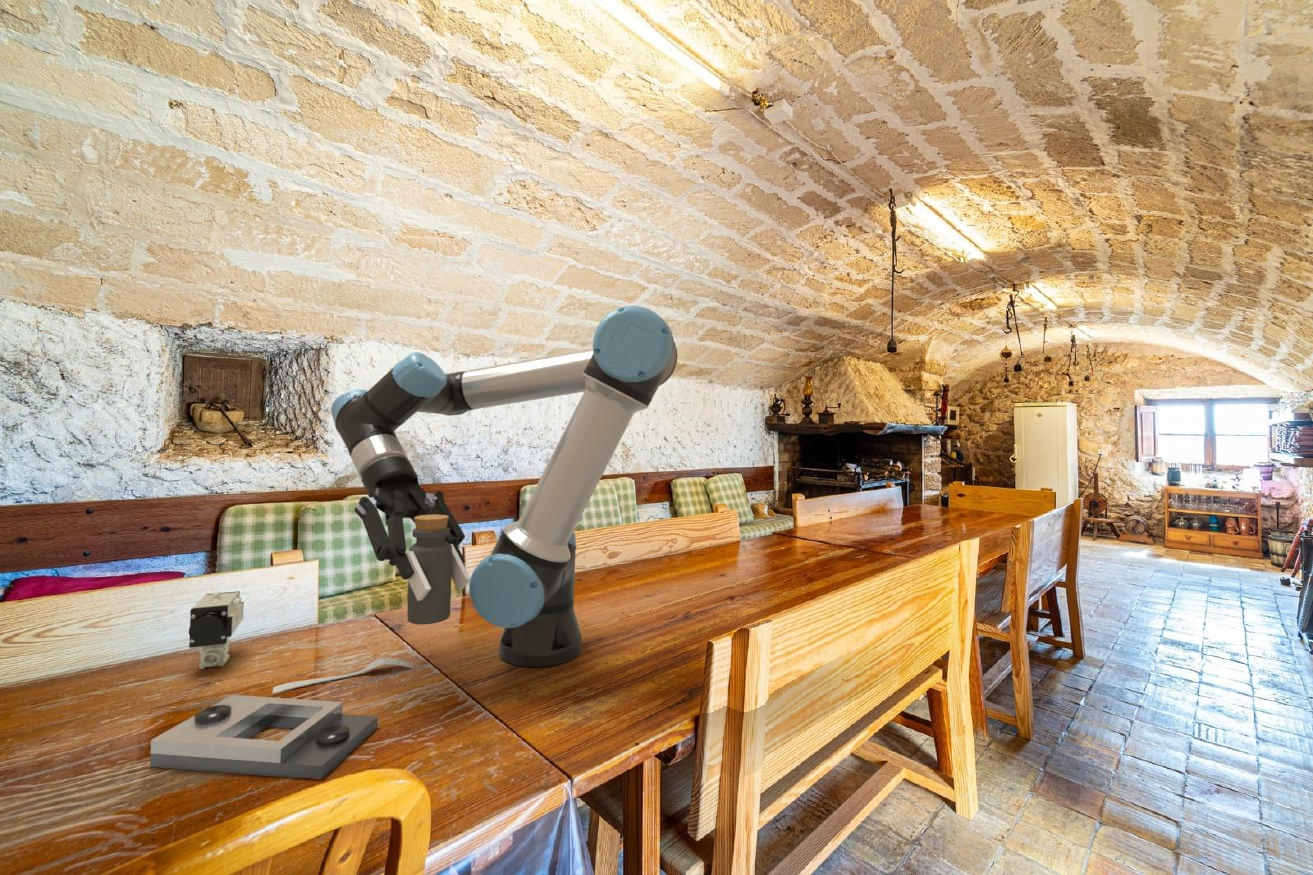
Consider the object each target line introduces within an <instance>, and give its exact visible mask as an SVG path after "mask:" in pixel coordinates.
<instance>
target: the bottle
mask: <svg viewBox="0 0 1313 875" xmlns="http://www.w3.org/2000/svg"><path fill="white" fill-rule="evenodd" d="M448 519H449V516H447V515H421V516H416V517H414V520H415V523H414V524H415V528H413V529H412V534H411V536H412V537H413V538H415V539H416V541H415V542H416V543H413V544H411V546H410V547H409V550H408V552H409V551H413V552H414V554H415V556H416V558H417V560H418V563H419V565H420V567H421V569H422V571H423V573H424V575H425V577H426V579H427V581H428V583H429V585H430V587H431V590H430V591H429V592H428V593H427V595H426V596H425V597H424V599H423V600H420V601H417V599H416V596H415V594H414V592H413V590H412V588H411V586H410V584H409V581H408V580H407V582H408V584H407V617H406V618H407V621H408V623H411V624H412V625H413V624H414V625H432V624H433V625H434V624H439V623H441V622H444V621H446V620H448V619H449V618H450V616H451V599H452V597H451V596H452V577H451V569H452V546H451V544H449V543H448V542H446V540H445V539H446V536H448V535H449V534H450V528H448V527H447V523H448Z"/></svg>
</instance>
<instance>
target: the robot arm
mask: <svg viewBox="0 0 1313 875" xmlns="http://www.w3.org/2000/svg"><path fill="white" fill-rule="evenodd" d="M593 334H594V335H593V340H592V348H589V349H582V350H576V351H571V352H565V353H560V354H555V355H548V356H543V357H537V358H532V359H525V360H521V361H520V360H519V361H513V362H507V363H502V364H495V365H491V366H486V367H479V368H475V369H474V368H473V369H468V370H464V371H456V372H452V373H451V372H450V373H445V372H444V370H443V369H442V368H441V366H440V364H438V363H437V362H436V361H434V360H433V359H432V358H431V357H429V356H427V354H424V353H423V352H417V351H416V352H415V351H414V352H411V353H409V354H408V355H407V356H406V357H404V358H403V359H402V360H400V361H398V362H397V363H396V364H395V365H394V366H393V367H392V369H390V370H389V371H388V372H387V373H386V374H384V376H383V377H382V378H381V379H379V380H378V381H377V382H376V383H375V384H374V385H373V386H372V387H371V388H370V389H369V390H366V389H352V390H349V391H348V392H347V393H342V394H340V395H339V396H338V397H336V398H335V399H334V401H333V402H332V403H331V404H332V405H331V408H330V412H331V417H332V419H333V422H334V427H335V429H336V432H338V434H339V436H340V437H341V439H342V441H343V443H344V445H345V447H346V449H347V451H348V454H349V457H350V458H351V461H352V463H353V464H354V468H355V470H356V471H357V474H358V476H359V478H361V483H362V485H363V487H364V489H365V491H366V493H367V496H368V497H369V498H368V497H367V496H362V497H360V499H359V501H358V502H357V503H356V505H355V507H354V509H353V510H354V512H355V513H356V515H358V517H359V518H360V519H361V520H362V522H363V526H364V529H365V531H366V533H367V536H368V539H369V542H370V544H371V546H372V549H373V552H374V554H375V558H376V559H377V561H378V562H384V561H386V560H388V564H389V566H392V567H396V569H397V571H398V573H399V575H400V577H401V579H403V580H404V581H405V580H407V582H408V581H409V584H410V586H411V588H412V590H413V592H414V594H415V596H416V599H417V601H420V600H423V599H424V597H425V596H426V595H427V593H428V592H429V591H430V590H431V587H430V585H429V583H428V581H427V579H426V577H425V575H424V573H423V571H422V569H421V567H420V565H419V563H418V560H417V558H416V556H415V554H414V552H413V551H409V550H408V551H407V545H406V535H405V528H404V525H405V524H404V518H405V519H407V518H408V519H410V520H411V521H412V522H413V523H414V524H415V520H414V517H416V516H421V515H447V516H449V519H448V523H447V527H448V528H450V534H449V535H448V536H446V539H445V540H446V542H448V543H449V544H451V546H452V569H451V580H453V583H454V585H455V587H456V589H457V591H461V590H463V589H464V588H465V587H466V586H467V584H468V583H469V585H468V592H469V597H470V599H471V603H472V604H473V608H474V610H475V611H476V613H477V614H478V615H479V616H480V617H481V618H482V619H483V620H484V621H486V622H487V623H489V624H491V625H493V626H494V627H498V628H503V630H502V633H501V636H500V638H499V647H498V651H499V652H498V655H499V657H500V658H501V659H502V660H503V661H505V662H506V663H509V664H511V665H516V666H519V667H525V668H526V667H527V668H528V667H529V668H541V667H543V668H544V667H551V666H556V665H557V666H558V665H560V664H561V665H562V664H564V663H567V662H569V661H571V660H573V659H575V658H577V657H578V656H579V655H581V654H580V653H581V652H582V649H583V648H582V643H583V640H582V639H583V637H582V636H583V635H582V634H581V630H580V627H579V626H580V625H579V622H578V620H577V616H576V612H575V608H574V604H575V603H574V602H575V578H576V577H575V576H576V575H575V574H576V553H577V552H576V550H577V543H576V542H577V541H576V540H577V539H576V534H575V529H576V527H577V525H578V523H579V521H580V519H581V517H582V515H583V514H584V512H585V510H586V508H587V506H588V504H589V503H590V502H589V501H590V500H591V498H592V496H593V494H594V492H595V490H596V488H597V486H598V484H599V483H600V480H601V478H602V476H603V474H604V472H605V470H606V468H607V467H608V465H609V463H610V461H611V459H612V457H613V456H614V453H615V451H616V449H617V447H618V446H619V444H620V442H621V439H622V437H623V436H624V433H625V431H626V430H627V428H628V426H629V424H630V422H631V421H632V418H633V416H634V414H635V413H637V412H641V411H643V410H645V409H646V410H647V409H648V408H649V406H650V405H651V402H652V400H653V399H654V396H655V395H656V392H657V391H658V389H659V387H660V386H662V385H663V384H665V383H666V382H667V381H668V380H669V379H671V377H672V375H673V373H674V372H675V369H676V367H677V362H678V349H677V346H676V342H675V341H674V336H673V332H672V330H671V328H670V326H669V324H668V323H667V322H666V321H665V320H664V318H662V316H661V315H659V314H657V313H656V312H655V311H653V310H652V309H650V308H647V307H643V306H639V305H626V306H621V307H619V308H616V309H614V310H612V311H610V312H609V313H608V314H607V315H605V316H604V318H602V319H601V321H600V322H599V323H598V325H597V326H596V329H595V331H594V333H593ZM578 393H583V394H582V396H581V398H580V399H579V401H578V404H577V406H576V408H575V409H574V411H573V413H572V416H571V417H570V419H569V421H568V423H567V425H566V427H565V429H564V430H563V431H564V432H563V433H562V435H561V437H560V438H559V440H558V443H557V444H556V447H555V449H554V451H553V452H552V455H551V457H550V459H549V461H548V462H547V465H546V466H545V468H544V470H543V472H542V475H541V477H540V478H539V480H538V482H537V484H536V486H535V489H534V490H533V492H532V493H531V496H530V498H529V500H528V502H527V503H526V505H525V508H524V510H522V511H523V512H522V513H521V515H520V517H519V519H518V520H516V521H514V522H511V523H508V524H506V525H505V526H504V528H503V530H502V532H501V533H500V536H499V538H498V540H497V541H496V543H495V545H494V548H493V549H492V551H491V553H490V555H488V556H486V557H484V558H483V559H481V561H480V562H479V564H477V566H476V567H475V568H474V570H473V572H472V574H471V576H470V574H469V572H468V571H467V569H466V566H465V565H464V563H466V562H465V557H464V556H463V554H462V552H461V551H460V548H459V546H460V545H461V543H462V542H463V540H464V539H465V538H466V535H465V533H464V531H463V529H462V528H461V527H460V525H459V524H458V521H457V520H456V518H455V516H454V515H453V513H452V511H451V510H450V509H449V507H448V505H447V503H446V501H445V497H444V493H443V492H442V491H441V490H438V491H436V492H435V493H430V492H429V493H428V492H426V491H425V489H424V488H422V486H420V483H419V477H418V474H417V472H416V470H415V468H414V466H413V465H412V463H411V461H410V460H409V457H408V455H407V452H406V451H405V449H404V448H403V445H402V444H401V441H400V440H399V438H398V435H397V434H396V430H397V429H398V428H399V427H401V426H402V425H404V424H405V423H406V422H407V421H408V420H409V419H411V417H413V416H414V415H415V414H416V413H417V412H419V413H427V414H428V413H429V414H438V415H442V416H443V415H444V416H450V417H451V416H459V415H464V414H465V413H468V412H469V411H474V410H479V409H486V408H491V407H492V408H493V407H498V406H504V405H509V404H510V405H511V404H517V403H523V402H529V401H535V400H541V399H547V398H554V397H559V396H566V395H571V394H572V395H573V394H578ZM378 510H379V511H380V512H382V513H384V518H385V526H387V530H386V527H385V526H384V523H383V521H382V518H381V515H380V513H379V511H378ZM406 551H407V552H406Z"/></svg>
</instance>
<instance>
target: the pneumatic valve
mask: <svg viewBox="0 0 1313 875" xmlns="http://www.w3.org/2000/svg"><path fill="white" fill-rule="evenodd" d="M240 593H241V592H240V591H238V590H236V591H225V592H219V591H218V592H213V593H206V594H205V595H203V597H202V598H201V599H200V600H199V601H198V602H197V603H196V604H195V605H194V606H193V607H192V608H191V609H190V613H189V614H190V618H189V620H190V622H189V624H190V625H189V628H188V636H189V645H188V646H189V647H188V648H189V649H193V648H199V647H200V649H199V651H198V653H199V654H200V659H199V662H200V663H199V664H198V669H200V670H204V669H206V668H214V667H216V666H217V667H220V666H221V667H224V666H225V664H226V663H227V662H228V660H229V658H230V656H231V655H230V653H229V649H230V648H229V645H230V643H231V641H230V639H231V637H232V635H233V634H234V633H235V631H236V630H237V628H238V627H239V625H240V624H241V623H242V621H243V619H244V601H242V597H241V596H240Z"/></svg>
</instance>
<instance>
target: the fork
mask: <svg viewBox="0 0 1313 875" xmlns="http://www.w3.org/2000/svg"><path fill="white" fill-rule="evenodd" d="M384 665H385V666H386V665H387V666H388V665H389V666H399V667H404V668H409V669H410V668H411V669H415V666H414V663H412V662H408V661H405V660H401V659H398V658H388V657H382V658H378V659H376V660H374V661H371V662H370V663H369V664H368V665H367V666H366V667H365V668H363V669H361V670H358V671H355V672H351V673H347V674H346V673H345V674H339V675H333V676H327V677H320V678H319V677H317V678H312V679H304V680H296V681H290V682H286V683H282V684H280V685H276V686H274V687H273V689H272V694H277V693H282V692H285V691H289V690H293V689H297V688H302V687H307V686H311V685H317V684H320V683H325V682H330V681H335V680H340V679H344V678H345V679H346V678H350V677H354V676H357V675H360V674H362V673H365V672H366V671H371V670H373V669H376V668H379V667H381V666H384Z"/></svg>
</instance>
